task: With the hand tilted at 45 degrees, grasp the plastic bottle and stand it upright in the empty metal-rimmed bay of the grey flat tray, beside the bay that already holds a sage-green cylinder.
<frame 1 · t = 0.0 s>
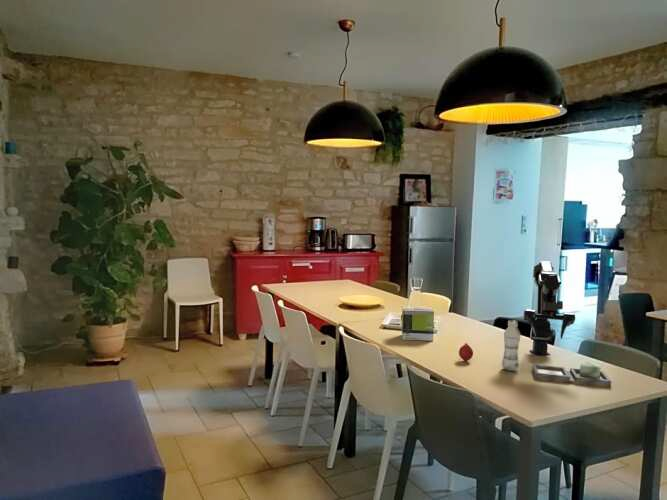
hand: (548, 337, 202), 15 cm above the table, tool tilted 35°, fingers open, 9 cm apart
tea box: (416, 338, 254), on the table
plastic bottle: (509, 370, 207), on the table
onion: (465, 361, 217), on the table
grey flat tray: (569, 378, 199), on the table
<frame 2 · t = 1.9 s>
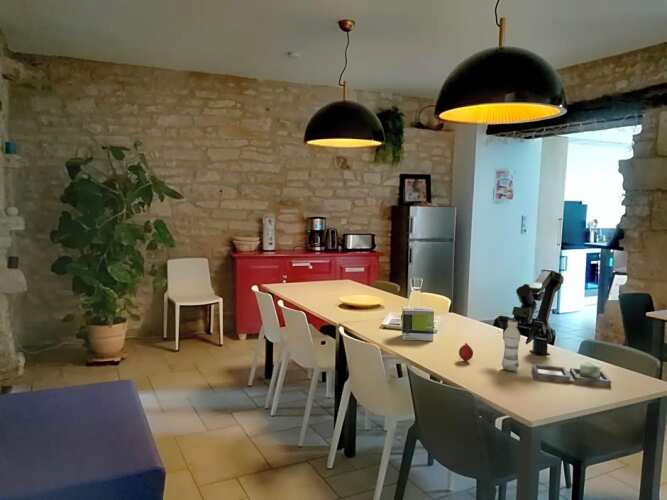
hand: (514, 341, 209), 11 cm above the table, tool tilted 45°, fingers open, 9 cm apart
nothing on the table moved.
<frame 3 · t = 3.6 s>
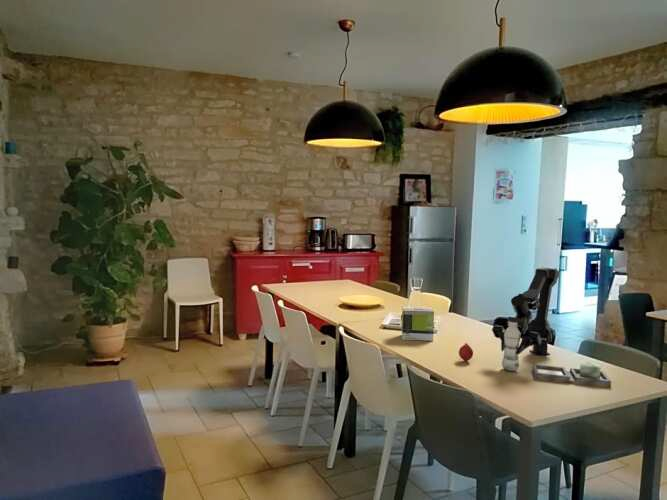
hand: (509, 352, 206), 8 cm above the table, tool tilted 45°, fingers closed on plastic bottle, 6 cm apart
plastic bottle: (509, 370, 207), on the table, touching gripper
everything else where it was.
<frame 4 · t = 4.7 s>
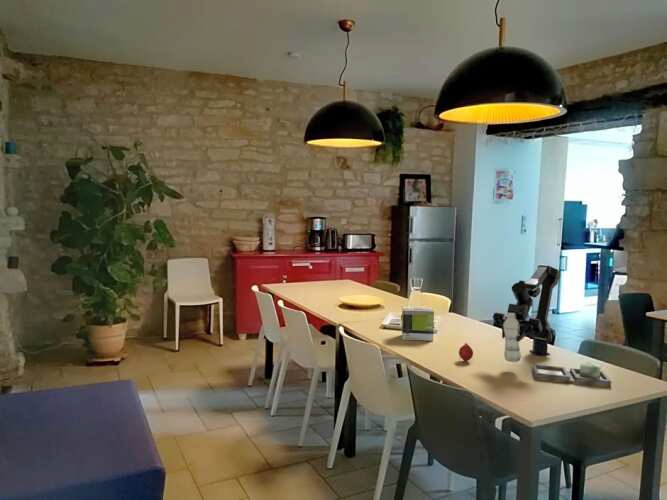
hand: (510, 339, 205), 13 cm above the table, tool tilted 45°, fingers closed on plastic bottle, 6 cm apart
plastic bottle: (512, 362, 206), point 4 cm above the table, touching gripper
everything else where it was.
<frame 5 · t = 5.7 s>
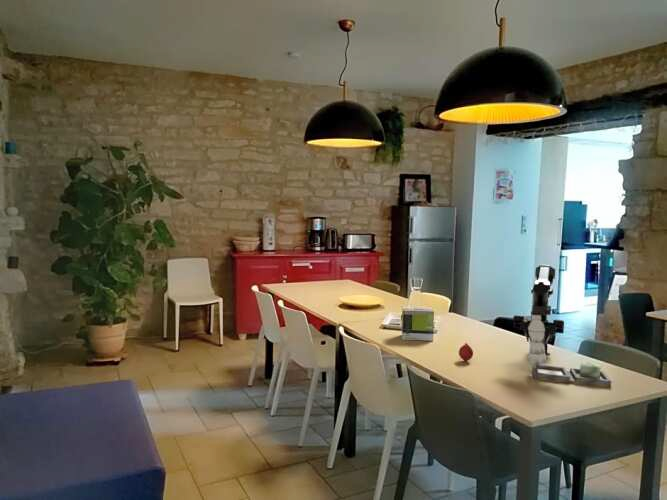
hand: (536, 342, 200), 13 cm above the table, tool tilted 45°, fingers closed on plastic bottle, 6 cm apart
plastic bottle: (537, 365, 202), point 4 cm above the table, touching gripper
everything else where it was.
when the fingers open (10 cm above the table, at t = 7.6 s): plastic bottle stays where it is, resting on grey flat tray.
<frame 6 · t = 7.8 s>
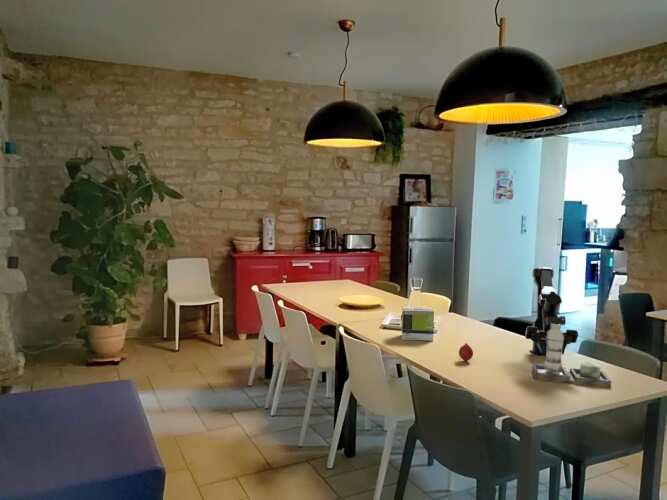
hand: (552, 353, 199), 10 cm above the table, tool tilted 45°, fingers open, 7 cm apart
plastic bottle: (552, 373, 201), point 1 cm above the table, touching gripper, grey flat tray
everything else where it was.
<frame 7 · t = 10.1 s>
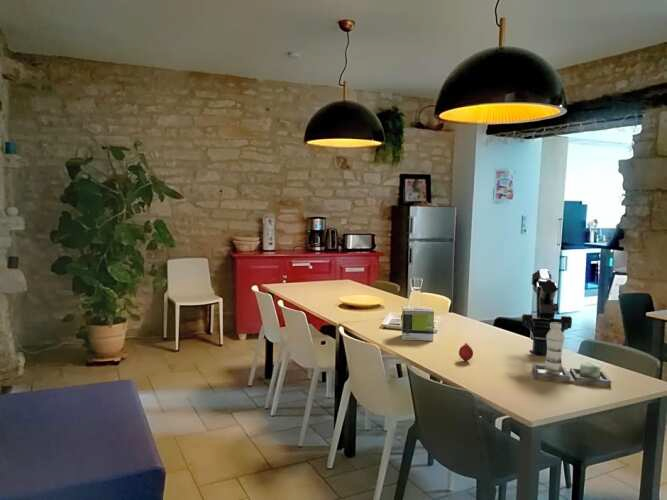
hand: (546, 339, 207), 13 cm above the table, tool tilted 40°, fingers open, 9 cm apart
plastic bottle: (552, 374, 201), point 1 cm above the table, touching grey flat tray
everything else where it was.
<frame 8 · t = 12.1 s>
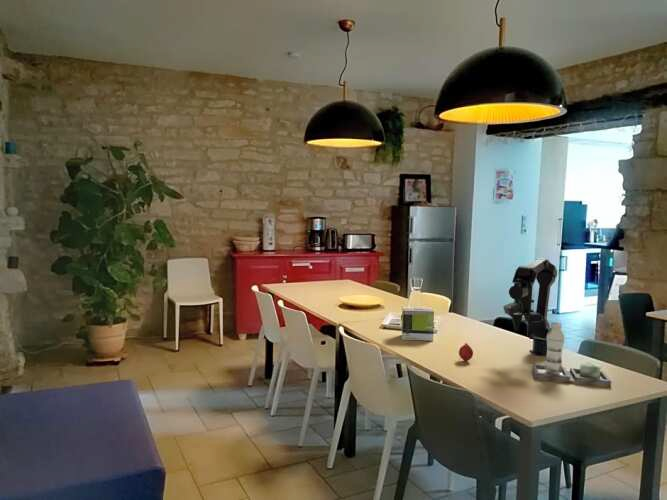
hand: (522, 333, 215), 13 cm above the table, tool pointing down, fingers open, 9 cm apart
nothing on the table moved.
at the end: plastic bottle 0.9 cm from the target spot, point 1.0 cm above the table; plastic bottle tilted 0°; the gripper is holding nothing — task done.
